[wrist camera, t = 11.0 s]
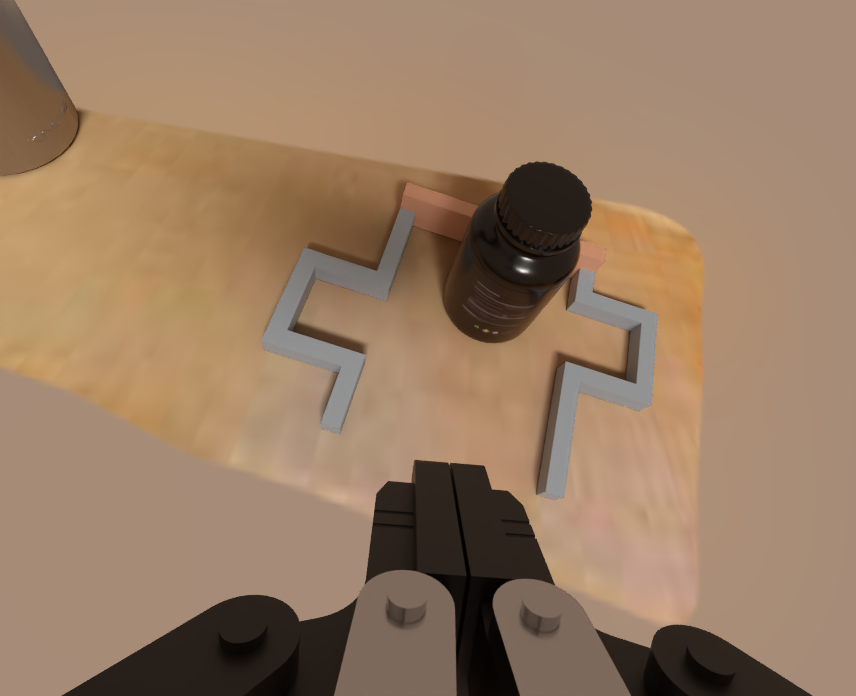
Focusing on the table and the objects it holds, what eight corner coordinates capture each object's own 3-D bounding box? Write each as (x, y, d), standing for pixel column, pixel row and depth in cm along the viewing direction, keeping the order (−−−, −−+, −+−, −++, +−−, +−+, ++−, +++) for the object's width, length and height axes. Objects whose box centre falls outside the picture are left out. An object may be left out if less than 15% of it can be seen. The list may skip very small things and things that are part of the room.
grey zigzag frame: (239, 403, 30) (230, 388, 28) (338, 187, 38) (338, 158, 35) (630, 523, 32) (658, 520, 29) (648, 290, 39) (671, 270, 37)
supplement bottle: (452, 253, 38) (500, 128, 27) (536, 280, 38) (618, 167, 27) (430, 331, 35) (475, 226, 24) (522, 359, 35) (607, 268, 24)
